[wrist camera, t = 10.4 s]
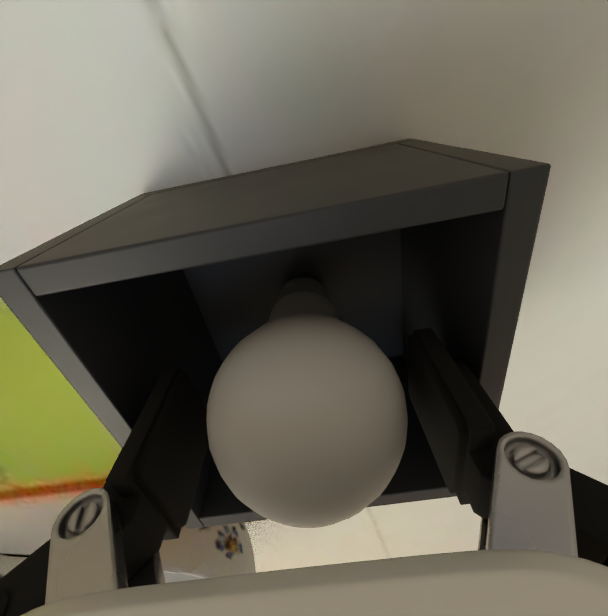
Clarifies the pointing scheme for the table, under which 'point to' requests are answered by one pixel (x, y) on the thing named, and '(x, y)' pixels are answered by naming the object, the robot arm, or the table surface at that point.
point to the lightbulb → (306, 414)
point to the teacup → (207, 553)
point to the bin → (280, 269)
